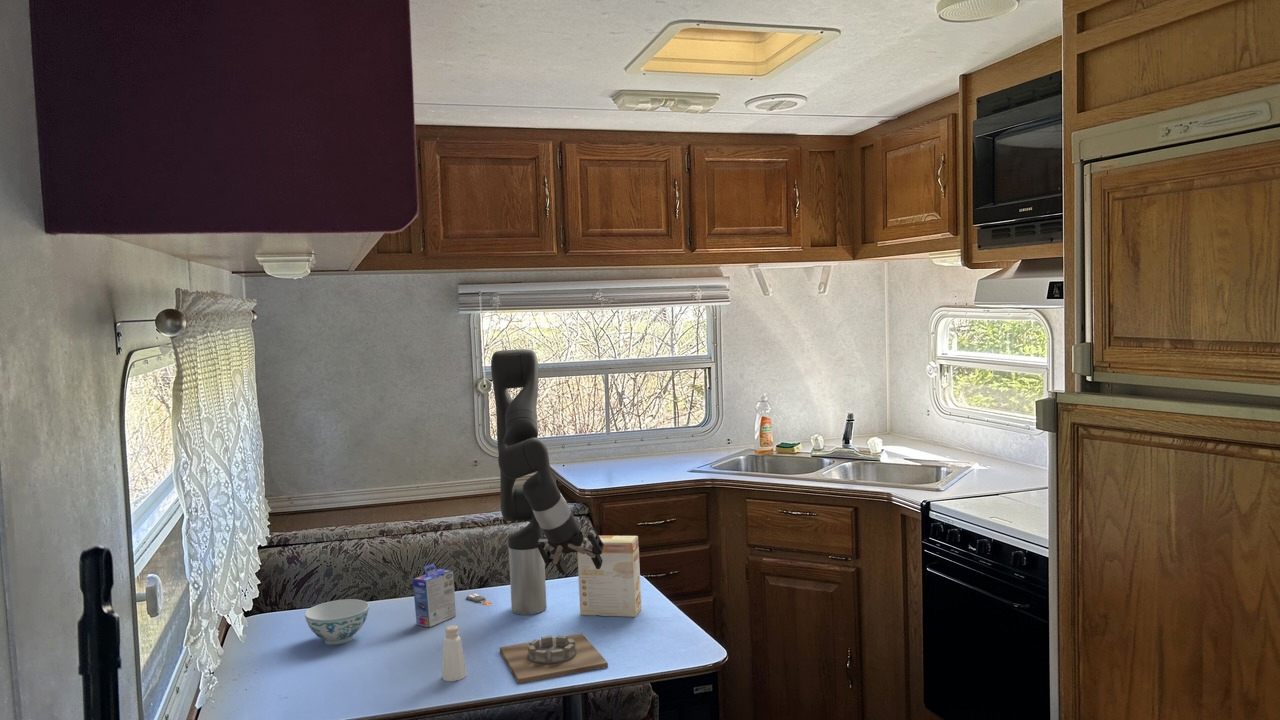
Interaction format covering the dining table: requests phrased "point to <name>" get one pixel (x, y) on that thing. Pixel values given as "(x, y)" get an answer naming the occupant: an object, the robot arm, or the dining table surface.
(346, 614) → the chinaware
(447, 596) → the ink cartridge box
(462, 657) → the pepper shaker
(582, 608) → the coffeecake box
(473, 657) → the dining table surface
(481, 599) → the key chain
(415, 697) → the dining table surface
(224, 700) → the dining table surface
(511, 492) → the robot arm
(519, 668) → the collar board
